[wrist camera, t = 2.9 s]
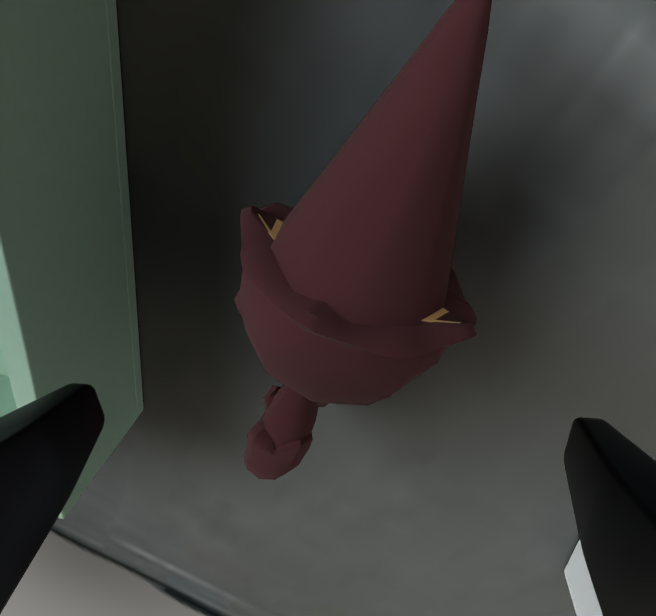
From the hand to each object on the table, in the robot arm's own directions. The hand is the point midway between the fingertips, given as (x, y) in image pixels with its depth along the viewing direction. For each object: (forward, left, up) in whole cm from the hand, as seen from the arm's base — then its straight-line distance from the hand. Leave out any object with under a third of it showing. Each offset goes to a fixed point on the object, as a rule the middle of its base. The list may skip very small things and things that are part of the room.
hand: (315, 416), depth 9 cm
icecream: (0, 0, -9) cm, 9 cm away
